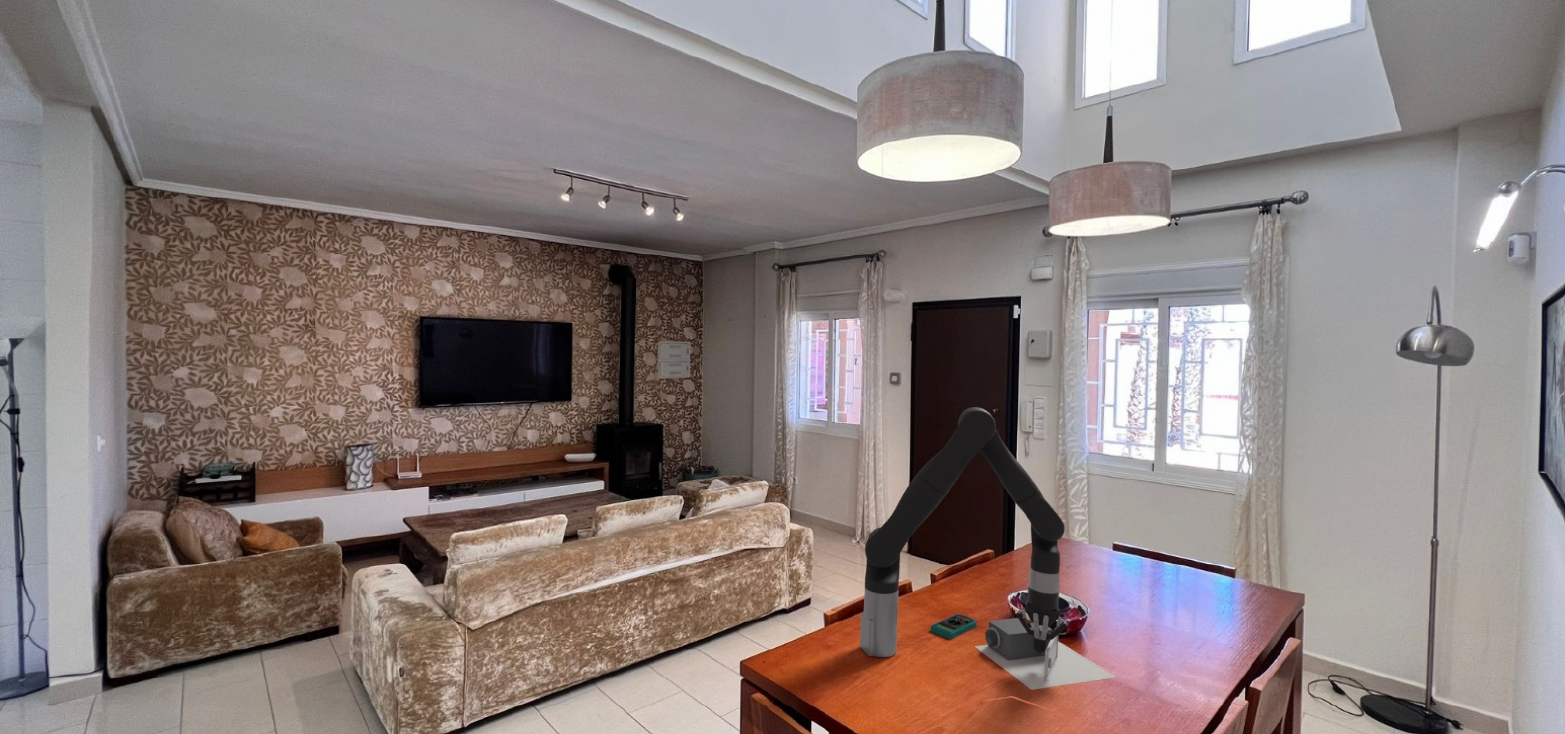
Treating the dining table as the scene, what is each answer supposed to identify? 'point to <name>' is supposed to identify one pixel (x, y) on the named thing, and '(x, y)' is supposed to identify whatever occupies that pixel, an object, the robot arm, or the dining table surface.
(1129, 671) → the dining table surface
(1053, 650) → the side door
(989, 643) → the camera body
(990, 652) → the mat
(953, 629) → the digital multimeter
